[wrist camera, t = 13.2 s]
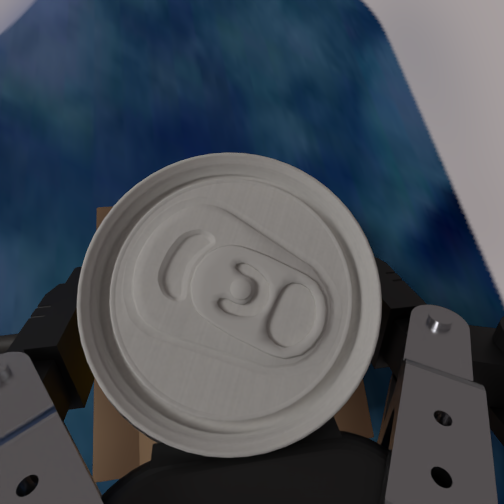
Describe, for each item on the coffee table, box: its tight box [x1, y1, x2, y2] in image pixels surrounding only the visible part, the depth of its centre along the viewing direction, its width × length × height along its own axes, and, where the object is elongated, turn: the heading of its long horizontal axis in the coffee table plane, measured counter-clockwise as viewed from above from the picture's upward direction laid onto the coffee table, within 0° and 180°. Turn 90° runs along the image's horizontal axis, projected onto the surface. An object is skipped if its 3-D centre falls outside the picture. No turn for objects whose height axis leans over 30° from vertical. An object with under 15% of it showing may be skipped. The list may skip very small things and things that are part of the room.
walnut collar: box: [0, 207, 374, 482], centre depth 17 cm, size 24×13×4 cm, turn 96°
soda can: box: [77, 153, 382, 458], centre depth 13 cm, size 6×6×15 cm
